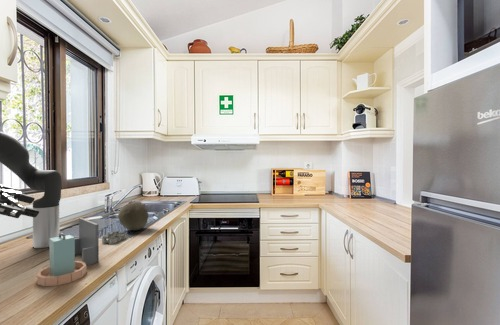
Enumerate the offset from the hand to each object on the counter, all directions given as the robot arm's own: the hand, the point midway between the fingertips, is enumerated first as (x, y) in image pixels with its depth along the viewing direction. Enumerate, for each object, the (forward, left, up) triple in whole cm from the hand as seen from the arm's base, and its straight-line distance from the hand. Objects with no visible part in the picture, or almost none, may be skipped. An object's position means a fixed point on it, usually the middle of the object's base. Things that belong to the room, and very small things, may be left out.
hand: (35, 207), depth 80 cm
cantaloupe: (-56, +15, -23) cm, 62 cm away
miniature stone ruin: (-40, +10, -23) cm, 47 cm away
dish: (-2, +7, -23) cm, 24 cm away
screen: (-17, +6, -23) cm, 29 cm away
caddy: (-2, +7, -22) cm, 23 cm away
